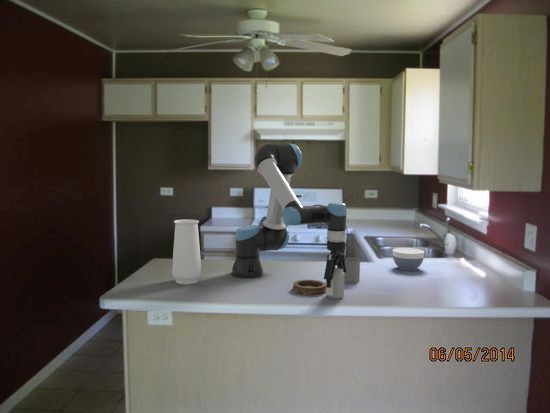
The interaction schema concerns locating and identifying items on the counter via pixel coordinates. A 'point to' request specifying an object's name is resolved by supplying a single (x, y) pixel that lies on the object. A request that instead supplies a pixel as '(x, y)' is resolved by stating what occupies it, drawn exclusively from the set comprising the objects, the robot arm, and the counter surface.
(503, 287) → the counter surface
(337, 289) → the can
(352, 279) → the cup
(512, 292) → the counter surface
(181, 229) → the vase
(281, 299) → the counter surface
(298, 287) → the tray
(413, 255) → the bowl
